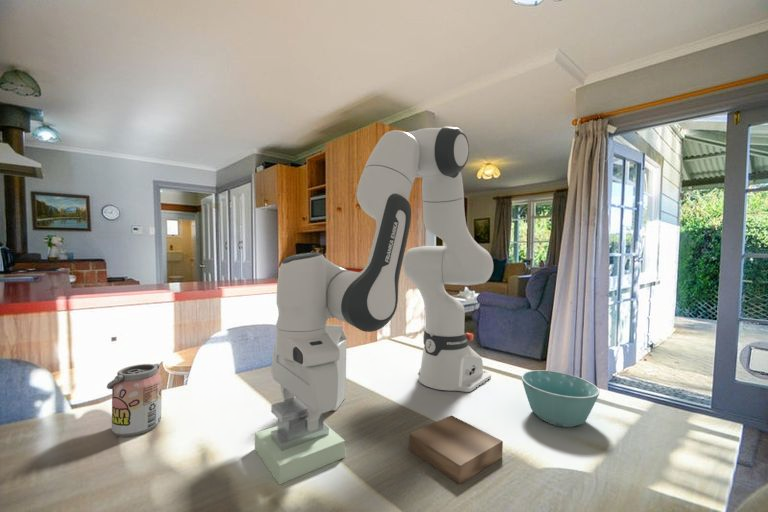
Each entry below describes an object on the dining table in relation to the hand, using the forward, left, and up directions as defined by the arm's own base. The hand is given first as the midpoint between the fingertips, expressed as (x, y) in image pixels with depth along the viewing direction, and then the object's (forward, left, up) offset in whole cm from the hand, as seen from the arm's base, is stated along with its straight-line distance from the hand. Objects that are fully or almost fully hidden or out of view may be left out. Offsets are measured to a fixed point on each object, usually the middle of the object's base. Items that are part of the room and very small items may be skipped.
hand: (299, 417), depth 62 cm
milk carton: (-14, -15, -7) cm, 22 cm away
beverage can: (+23, -28, -7) cm, 37 cm away
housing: (0, 0, -3) cm, 3 cm away
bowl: (-53, +22, -7) cm, 58 cm away
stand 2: (-23, +17, -6) cm, 29 cm away
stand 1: (0, 0, -6) cm, 6 cm away
